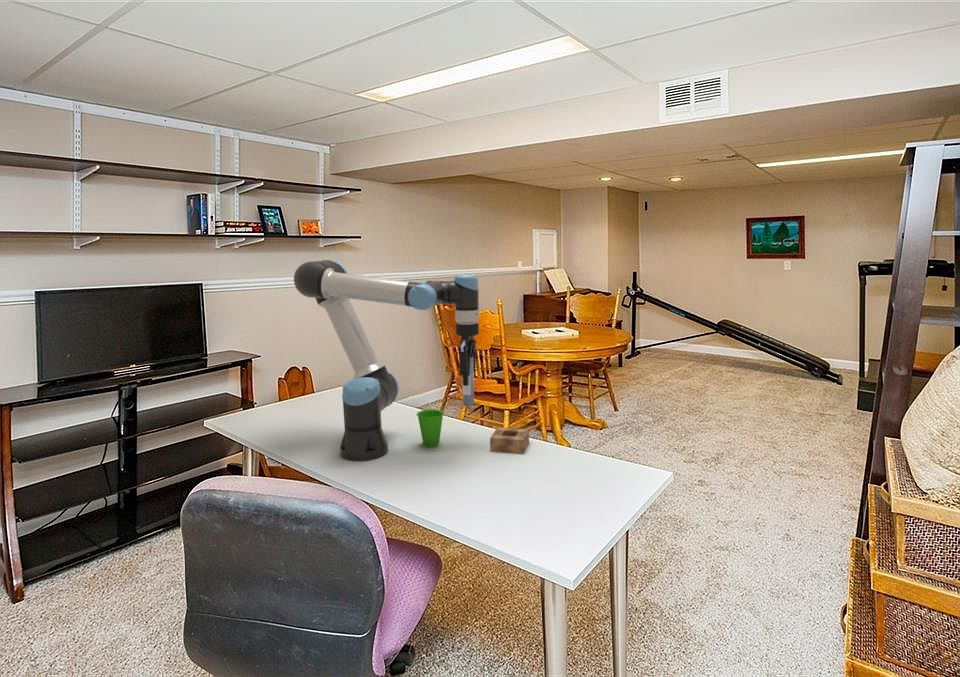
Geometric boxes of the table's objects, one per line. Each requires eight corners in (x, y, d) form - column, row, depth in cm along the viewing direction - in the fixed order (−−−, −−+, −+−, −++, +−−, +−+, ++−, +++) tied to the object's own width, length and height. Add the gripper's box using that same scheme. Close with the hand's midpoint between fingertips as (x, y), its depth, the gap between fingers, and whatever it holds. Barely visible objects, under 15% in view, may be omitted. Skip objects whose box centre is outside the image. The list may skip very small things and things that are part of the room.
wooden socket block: (490, 451, 179) (490, 437, 178) (497, 439, 189) (497, 427, 188) (523, 453, 176) (523, 440, 176) (528, 442, 187) (528, 429, 186)
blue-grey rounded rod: (461, 406, 183) (461, 358, 180) (464, 403, 186) (464, 356, 184) (472, 406, 182) (471, 358, 179) (475, 403, 185) (474, 356, 183)
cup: (440, 450, 180) (439, 417, 178) (414, 448, 182) (412, 416, 180) (447, 441, 189) (447, 409, 187) (422, 439, 191) (421, 408, 189)
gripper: (471, 326, 171) (472, 400, 174) (484, 319, 186) (485, 387, 190) (448, 326, 172) (449, 399, 176) (463, 319, 188) (464, 386, 192)
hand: (468, 392), depth 183 cm, fingers closed on blue-grey rounded rod, 3 cm apart
